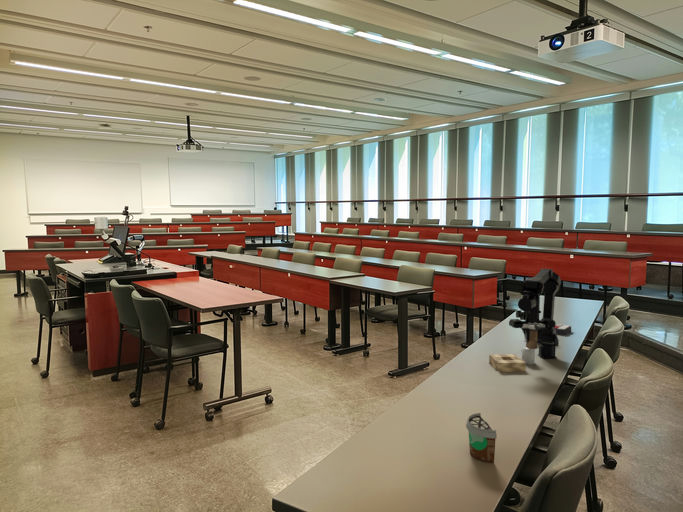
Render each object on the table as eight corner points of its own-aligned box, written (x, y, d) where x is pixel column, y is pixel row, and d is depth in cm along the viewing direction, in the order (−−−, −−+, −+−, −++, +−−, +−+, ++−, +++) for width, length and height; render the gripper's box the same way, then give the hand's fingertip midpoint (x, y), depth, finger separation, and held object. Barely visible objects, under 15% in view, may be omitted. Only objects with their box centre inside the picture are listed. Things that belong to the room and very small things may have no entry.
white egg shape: (531, 360, 217) (531, 346, 216) (536, 364, 212) (537, 349, 211) (519, 361, 217) (520, 346, 216) (524, 365, 211) (525, 350, 211)
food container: (459, 444, 140) (460, 413, 139) (479, 443, 141) (479, 412, 140) (474, 466, 128) (475, 432, 127) (496, 465, 128) (496, 431, 128)
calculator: (544, 322, 278) (571, 324, 267) (545, 329, 278) (571, 332, 267) (537, 325, 270) (564, 328, 259) (537, 332, 270) (564, 336, 260)
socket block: (514, 362, 215) (514, 354, 215) (525, 371, 203) (525, 362, 203) (489, 363, 215) (489, 354, 214) (498, 371, 203) (499, 363, 202)
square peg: (533, 346, 206) (534, 329, 205) (537, 348, 202) (537, 330, 202) (526, 346, 206) (526, 329, 205) (529, 349, 202) (530, 331, 201)
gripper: (544, 303, 211) (543, 336, 212) (504, 304, 210) (503, 337, 211) (556, 308, 200) (555, 343, 201) (514, 309, 199) (513, 344, 200)
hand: (531, 342), depth 204 cm, fingers closed on square peg, 3 cm apart
